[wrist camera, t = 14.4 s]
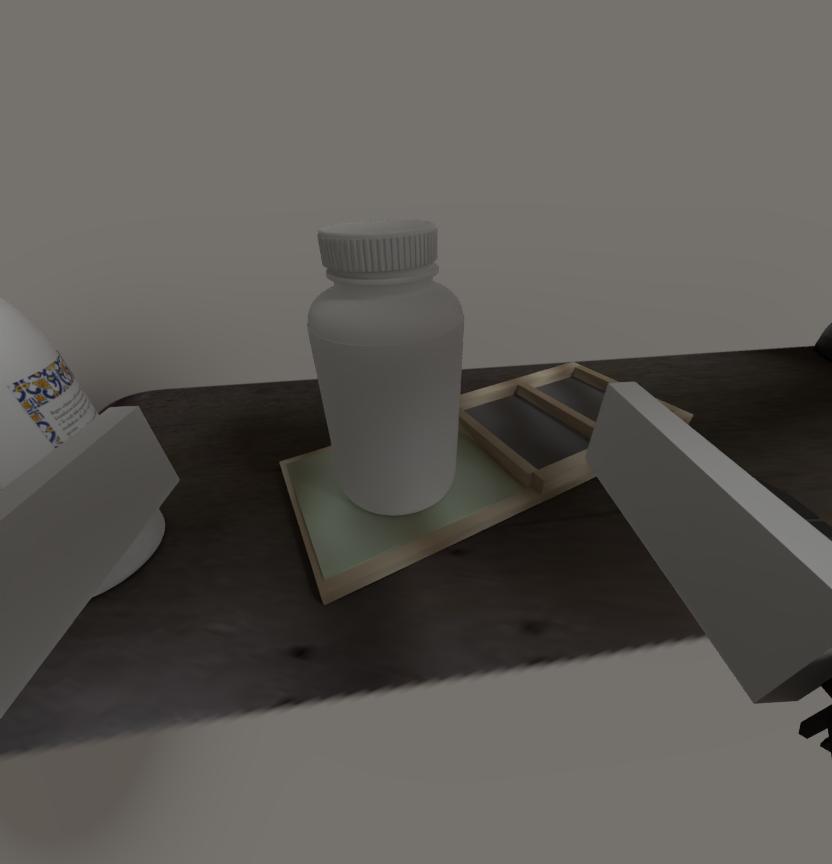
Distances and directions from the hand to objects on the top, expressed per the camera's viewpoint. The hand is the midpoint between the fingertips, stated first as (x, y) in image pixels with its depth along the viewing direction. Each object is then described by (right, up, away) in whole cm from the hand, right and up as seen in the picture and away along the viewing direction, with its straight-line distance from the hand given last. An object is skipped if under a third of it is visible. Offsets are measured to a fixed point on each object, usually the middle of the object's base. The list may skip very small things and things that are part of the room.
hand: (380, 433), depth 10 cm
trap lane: (+7, -2, +17) cm, 19 cm away
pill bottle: (0, -3, +14) cm, 14 cm away
